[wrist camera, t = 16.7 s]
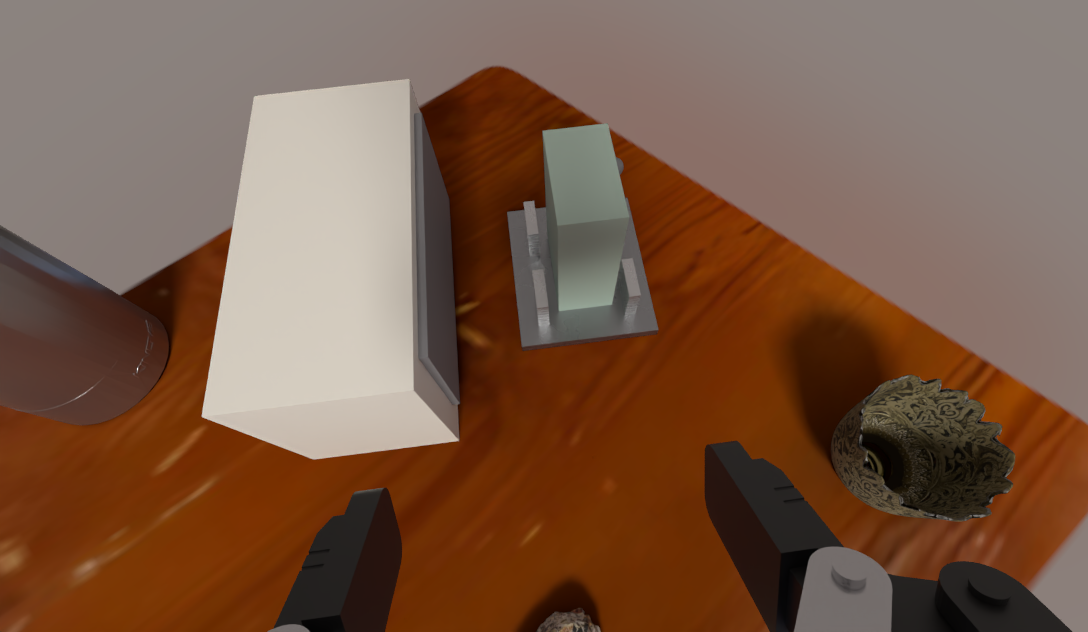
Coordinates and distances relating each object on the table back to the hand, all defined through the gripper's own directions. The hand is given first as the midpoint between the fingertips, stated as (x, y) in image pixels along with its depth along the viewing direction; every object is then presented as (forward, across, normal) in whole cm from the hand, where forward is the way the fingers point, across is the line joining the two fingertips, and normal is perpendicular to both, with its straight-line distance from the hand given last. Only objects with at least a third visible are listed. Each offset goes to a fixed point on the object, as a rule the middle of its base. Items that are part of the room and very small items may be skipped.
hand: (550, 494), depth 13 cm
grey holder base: (+28, -4, +2) cm, 29 cm away
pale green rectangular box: (+28, -4, +2) cm, 28 cm away
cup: (+16, -20, +15) cm, 30 cm away
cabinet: (+28, +11, +4) cm, 30 cm away
